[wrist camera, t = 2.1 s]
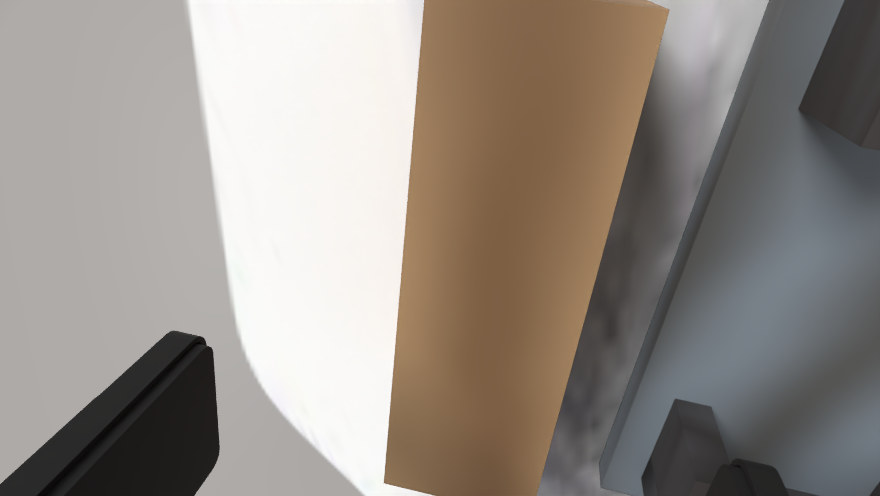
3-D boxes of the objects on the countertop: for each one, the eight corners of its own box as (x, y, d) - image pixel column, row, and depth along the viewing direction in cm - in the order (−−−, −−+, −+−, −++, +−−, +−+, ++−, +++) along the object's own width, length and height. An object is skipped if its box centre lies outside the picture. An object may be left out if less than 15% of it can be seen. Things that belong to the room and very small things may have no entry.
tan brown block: (425, 362, 22) (383, 483, 17) (471, -26, 16) (426, -21, 11) (538, 385, 22) (530, 518, 17) (632, -6, 15) (669, 9, 10)
